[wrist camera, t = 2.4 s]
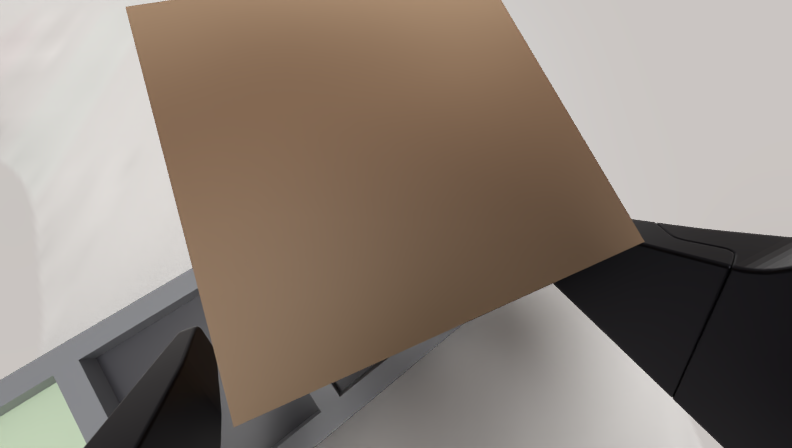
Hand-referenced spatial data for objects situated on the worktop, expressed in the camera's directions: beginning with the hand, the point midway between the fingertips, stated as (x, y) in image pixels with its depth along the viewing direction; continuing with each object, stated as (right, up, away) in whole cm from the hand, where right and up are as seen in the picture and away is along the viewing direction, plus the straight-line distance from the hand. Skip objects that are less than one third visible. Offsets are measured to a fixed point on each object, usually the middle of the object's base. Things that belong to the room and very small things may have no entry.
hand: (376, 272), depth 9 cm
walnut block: (-2, -2, +9) cm, 9 cm away
